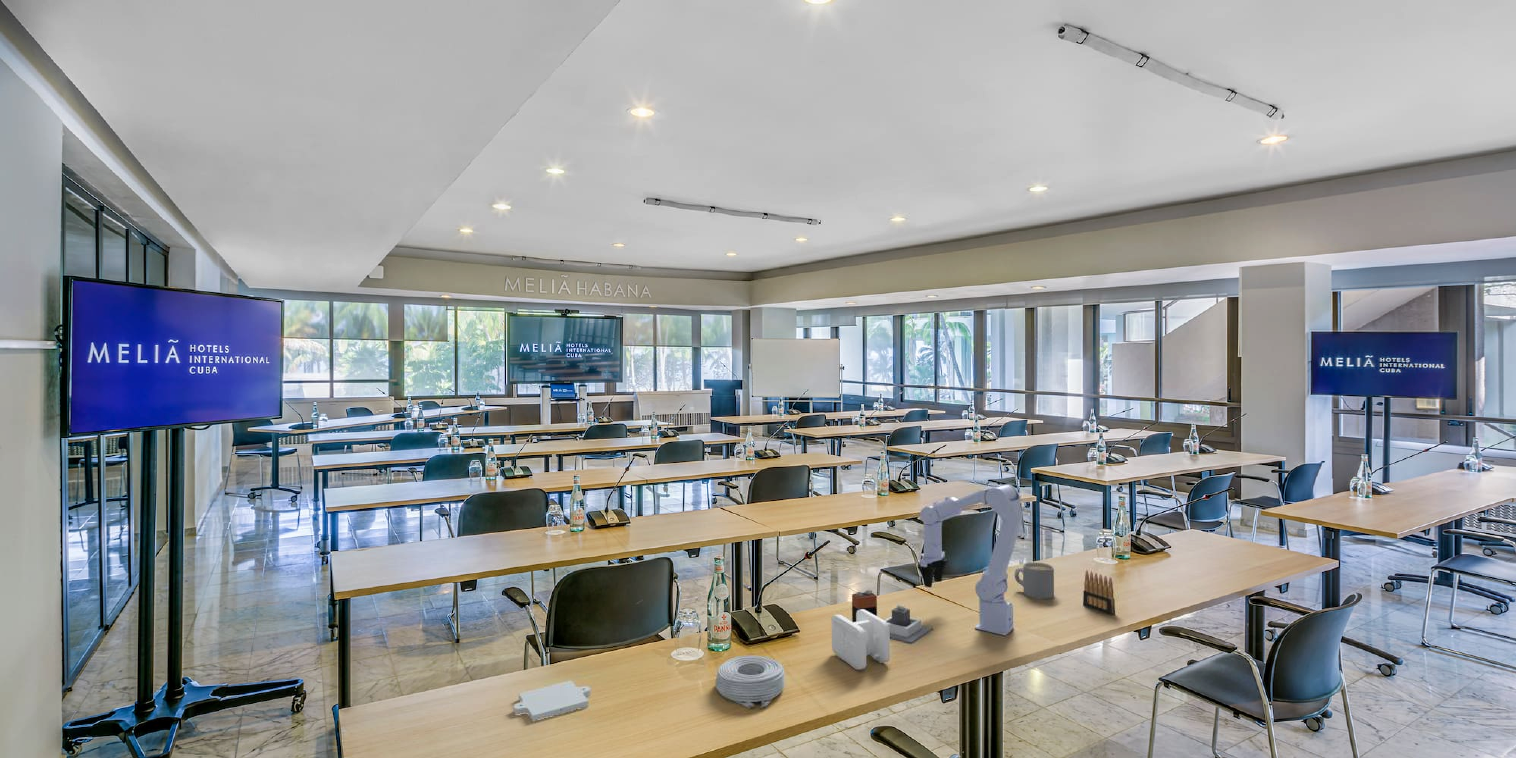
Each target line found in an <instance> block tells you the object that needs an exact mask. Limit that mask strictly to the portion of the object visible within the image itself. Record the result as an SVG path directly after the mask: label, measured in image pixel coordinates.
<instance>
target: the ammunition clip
mask: <svg viewBox="0 0 1516 758" xmlns="http://www.w3.org/2000/svg"><path fill="white" fill-rule="evenodd" d="M1083 583H1084V585H1083V586H1084V590H1083V592H1082V594H1083V595H1082V597H1083V599H1082V601H1083V602H1082V606H1084V607H1086V608H1089V609H1092V610H1094V611H1097V612H1100V613H1102V614H1106V615H1109V616H1115V615H1116V606H1115V605H1116V604H1115V600H1116V599H1115V598H1114V597H1115V596H1114V587H1113V586H1114V584H1113V580H1112V577H1111V576H1109V578H1107V575H1104V578H1103V576H1102V574H1100V575H1099V577H1098V573H1097V572H1095V573H1093V571H1092V570H1091V571H1090V574H1089V571H1088V570H1085V575H1084V582H1083Z"/></svg>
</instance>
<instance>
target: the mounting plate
mask: <svg viewBox="0 0 1516 758" xmlns="http://www.w3.org/2000/svg"><path fill="white" fill-rule="evenodd" d="M591 689H592V688H590V686H588V685H584V686H577V685H576V683H574V682H573V680H568V681H563V682H560V683H555V684H551V685H547V686H544V687H538V688H536V689H532V690H528V691H523V692H519V693H518V700H519V699H520V701H521V702H520V701H519V702H517V703H515V704H514V705H513V713H514V712H515V714H520V713H524V712H525V713H528V714H529V716H530V717H529V716H528V717H529V719H530V718H531V719H532V720H531V719H530V720H531V722H532V721H536V720H538V719H541V718H546V717H550V716H553V715H558V714H561V715H563V714H562V713H564V712H568V713H570V712H569V711H572V710H575V709H578V708H583V709H585V707H586V708H589V700H588V698H589V697H591V695H592V694H591V693H592V692H591V691H592V690H591ZM588 696H589V697H588ZM572 712H573V711H572ZM515 714H514V715H515ZM558 716H559V715H558ZM550 718H551V717H550ZM536 722H537V721H536Z"/></svg>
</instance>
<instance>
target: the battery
mask: <svg viewBox="0 0 1516 758" xmlns="http://www.w3.org/2000/svg"><path fill="white" fill-rule="evenodd" d="M877 599H878V597H877V595H876V594H875V593H873V590H869V589H867V590H865V591H864V592H862V591H857V592H856V593H853V594H851V617H852V619H851V621H852V622H856V612H857V611H858V610H861V609H864V610H866V611H868V612H870V613H872V614H874V615H875V616H877V617H878V604H877V603H878V600H877Z"/></svg>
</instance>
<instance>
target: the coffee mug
mask: <svg viewBox="0 0 1516 758" xmlns="http://www.w3.org/2000/svg"><path fill="white" fill-rule="evenodd" d="M1020 572H1021V574H1022V579H1021V578H1020ZM1054 577H1055V567H1054V566H1053V565H1051V564H1049V563H1044V562H1037V561H1036V562H1035V561H1034V562H1033V561H1032V562H1025V563H1023V566H1022V567H1017V568H1016V569H1015V571H1014V579H1015V582H1016V583H1017V584H1019V585H1020V586H1022V587H1023V595H1025V596H1026V597H1028V598H1033V599H1038V600H1049V599H1053V598H1054V597H1055V578H1054Z"/></svg>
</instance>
